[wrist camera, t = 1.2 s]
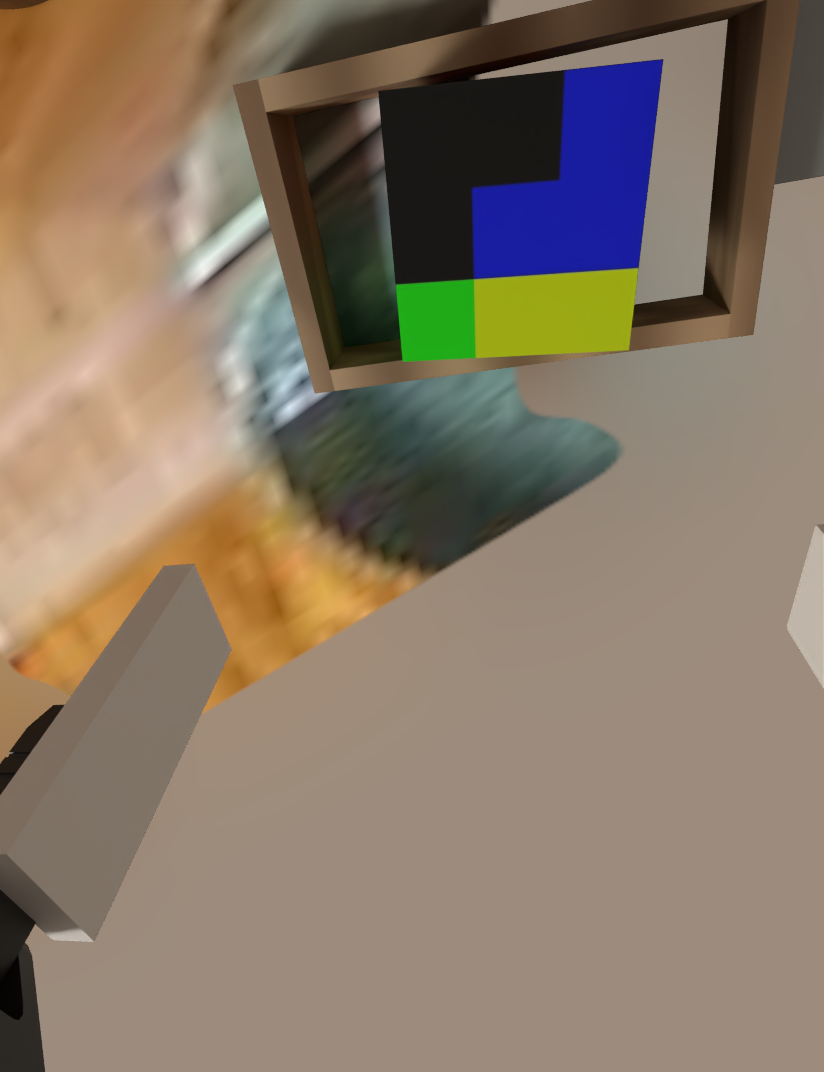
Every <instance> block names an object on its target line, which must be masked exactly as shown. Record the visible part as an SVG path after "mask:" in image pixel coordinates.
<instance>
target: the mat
mask: <svg viewBox="0 0 824 1072" xmlns="http://www.w3.org/2000/svg"><path fill="white" fill-rule="evenodd" d="M820 176H824V0H800V2H799V9H798V16H797V24H796V31H795V38H794V45H793V52H792V60H791V67H790V74H789V81H788V88H787V96H786V103H785V110H784V117H783V124H782V131H781V139H780V146H779V153H778V160H777V167H776V175H775V182H774V184H780V183H785V182H791V181H797V180H803V179H809V178H814V177H820Z"/></svg>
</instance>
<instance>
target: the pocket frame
mask: <svg viewBox="0 0 824 1072" xmlns="http://www.w3.org/2000/svg"><path fill="white" fill-rule="evenodd" d="M799 2H800V0H592V1H588V2H584V3H579V4H575V5H571V6H567V7H563V8H558V9H554V10H550V11H545V12H541V13H537V14H533V15H528V16H524V17H520V18H516V19H512V20H507V21H503V22H499V23H495V24H490V25H486V26H482V27H478V28H473V29H469V30H465V31H461V32H456V33H452V34H448V35H444V36H439V37H435V38H431V39H427V40H422V41H418V42H414V43H410V44H406V45H401V46H397V47H393V48H389V49H384V50H380V51H376V52H372V53H367V54H363V55H359V56H355V57H350V58H346V59H342V60H338V61H333V62H329V63H325V64H321V65H316V66H312V67H308V68H304V69H300V70H295V71H291V72H287V73H283V74H278V75H274V76H270V77H266V78H261V79H257V80H253V81H249V82H244V83H240V84H236V85H233V88H234V92H235V95H236V99H237V103H238V107H239V110H240V114H241V118H242V122H243V125H244V129H245V133H246V137H247V140H248V144H249V148H250V152H251V155H252V159H253V163H254V167H255V170H256V174H257V178H258V182H259V186H260V189H261V193H262V197H263V201H264V204H265V208H266V212H267V216H268V219H269V223H270V227H271V231H272V234H273V238H274V242H275V246H276V249H277V253H278V257H279V261H280V264H281V268H282V272H283V276H284V279H285V283H286V287H287V291H288V294H289V298H290V302H291V306H292V309H293V313H294V317H295V321H296V324H297V328H298V332H299V336H300V339H301V343H302V347H303V351H304V355H305V358H306V362H307V366H308V370H309V373H310V377H311V381H312V385H313V388H314V392H315V393H322V392H330V391H337V390H345V389H352V388H359V387H367V386H374V385H382V384H389V383H397V382H404V381H412V380H419V379H427V378H434V377H441V376H449V375H456V374H464V373H471V372H479V371H486V370H494V369H501V368H508V367H516V366H523V365H530V364H538V363H545V362H553V361H561V360H568V359H575V358H583V357H589V356H598V355H605V354H613V353H620V352H628V351H635V350H643V349H650V348H657V347H665V346H672V345H680V344H687V343H695V342H702V341H709V340H716V339H725V338H732V337H739V336H747V335H753V333H754V325H755V318H756V311H757V304H758V297H759V290H760V282H761V275H762V268H763V260H764V254H765V246H766V239H767V232H768V225H769V218H770V210H771V203H772V196H773V189H774V182H775V175H776V167H777V160H778V153H779V146H780V139H781V131H782V124H783V117H784V110H785V103H786V96H787V88H788V81H789V74H790V67H791V60H792V52H793V45H794V38H795V31H796V24H797V16H798V9H799ZM726 19H728V25H727V36H726V47H725V58H724V70H723V80H722V92H721V102H720V113H719V125H718V136H717V146H716V157H715V169H714V180H713V190H712V201H711V212H710V223H709V235H708V245H707V256H706V267H705V278H704V289H703V295H697V296H691V297H684V298H677V299H671V300H663V301H657V302H650V303H643V304H636V305H634V310H633V319H632V327H631V336H630V344H629V350H624V351H605V352H585V353H566V354H546V355H526V356H507V357H487V358H468V359H448V360H429V361H409V362H403V359H402V348H401V339H398V340H392V341H385V342H378V343H371V344H364V345H358V346H351V347H345V345H344V340H343V336H342V331H341V327H340V323H339V318H338V314H337V309H336V305H335V301H334V296H333V292H332V287H331V283H330V279H329V274H328V270H327V266H326V261H325V257H324V252H323V248H322V244H321V239H320V235H319V230H318V226H317V222H316V217H315V213H314V208H313V204H312V200H311V195H310V191H309V187H308V182H307V178H306V173H305V169H304V165H303V160H302V156H301V151H300V147H299V143H298V138H297V134H296V129H295V125H294V121H293V115H298V114H302V113H307V112H311V111H316V110H320V109H325V108H329V107H334V106H338V105H343V104H347V103H352V102H356V101H361V100H365V99H370V98H374V97H379V93H378V91H381V90H390V89H399V88H408V87H417V86H426V85H433V84H437V83H442V82H446V81H451V80H455V79H460V78H464V77H469V76H473V75H478V74H482V73H487V72H491V71H496V70H500V69H505V68H509V67H514V66H518V65H523V64H527V63H532V62H536V61H541V60H545V59H550V58H554V57H559V56H563V55H568V54H572V53H577V52H581V51H586V50H590V49H595V48H599V47H604V46H609V45H613V44H618V43H622V42H627V41H631V40H636V39H640V38H645V37H649V36H654V35H658V34H663V33H667V32H672V31H676V30H681V29H685V28H690V27H694V26H699V25H703V24H707V23H712V22H717V21H721V20H726Z"/></svg>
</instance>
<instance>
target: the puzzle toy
mask: <svg viewBox="0 0 824 1072" xmlns="http://www.w3.org/2000/svg"><path fill="white" fill-rule="evenodd" d="M662 65H663V59H661V60H652V61H642V62H633V63H624V64H616V65H607V66H597V67H588V68H579V69H571V70H561V71H552V72H543V73H534V74H525V75H516V76H507V77H499V78H489V79H480V80H471V81H462V82H453V83H444V84H435V85H426V86H417V87H408V88H399V89H390V90H381V91H378V93H379V105H380V116H381V127H382V138H383V149H384V160H385V171H386V182H387V193H388V204H389V215H390V226H391V237H392V249H393V260H394V271H395V282H396V293H397V304H398V315H399V326H400V337H401V348H402V359H403V362H409V361H429V360H448V359H468V358H487V357H507V356H526V355H546V354H566V353H585V352H605V351H624V350H629V344H630V336H631V327H632V319H633V310H634V302H635V293H636V285H637V276H638V268H639V260H640V251H641V243H642V234H643V226H644V217H645V208H646V201H647V192H648V184H649V175H650V167H651V158H652V149H653V141H654V132H655V123H656V116H657V108H658V99H659V91H660V82H661V74H662Z"/></svg>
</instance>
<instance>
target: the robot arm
mask: <svg viewBox="0 0 824 1072" xmlns="http://www.w3.org/2000/svg"><path fill="white" fill-rule="evenodd" d="M45 1H48V0H0V9H19V8H26V7H31V6H35V5H38V4H40V3H43V2H45ZM787 630H788V631H789V633H790V635H791V636H792V638H793V639H794V641H795V643H796V644H797V646H798V648H799V649H800V651H801V652H802V654H803V656H804V657H805V659H806V661H807V662H808V664H809V665H810V667H811V669H812V670H813V672H814V673H815V675H816V677H817V678H818V680H819V681H820V683H821V685H822V687H823V688H824V524H821V525H816V526H815V530H814V533H813V537H812V540H811V544H810V548H809V551H808V555H807V558H806V562H805V565H804V569H803V572H802V576H801V579H800V582H799V586H798V589H797V593H796V597H795V600H794V603H793V607H792V611H791V614H790V618H789V621H788V625H787ZM231 650H232V649H231V647H230V645H229V642H228V640H227V638H226V635H225V633H224V631H223V628H222V626H221V624H220V622H219V619H218V617H217V615H216V612H215V610H214V608H213V606H212V603H211V601H210V599H209V596H208V594H207V592H206V589H205V587H204V585H203V583H202V580H201V578H200V576H199V573H198V571H197V569H196V567H195V564H186V565H171V566H163V568H162V569H161V571H160V572H159V573H158V575H157V576H156V578H155V579H154V580H153V582H152V583H151V585H150V586H149V587H148V589H147V590H146V592H145V593H144V594H143V596H142V597H141V599H140V600H139V601H138V603H137V604H136V606H135V607H134V608H133V610H132V611H131V613H130V614H129V615H128V617H127V618H126V620H125V621H124V622H123V624H122V625H121V627H120V628H119V630H118V631H117V632H116V634H115V635H114V637H113V638H112V639H111V641H110V642H109V644H108V645H107V646H106V648H105V649H104V651H103V652H102V653H101V655H100V656H99V658H98V659H97V660H96V662H95V663H94V665H93V666H92V667H91V669H90V670H89V672H88V673H87V674H86V676H85V677H84V679H83V680H82V681H81V683H80V684H79V686H78V687H77V688H76V690H75V691H74V693H73V694H72V695H71V697H70V698H69V700H68V701H67V702H66V704H65V705H53V706H52V707H51V708H50V709H49V710H47V711H46V712H45V713H44V714H43V715H41V716H40V717H39V718H38V719H37V720H36V721H34V722H33V723H32V724H31V725H30V726H29V727H28V728H27V729H26V730H25V732H24V733H23V734H22V736H21V737H20V738H19V740H18V741H17V742H16V744H15V745H14V746H13V748H12V749H11V750H10V752H9V757H6V758H4V760H3V761H2V762H1V764H0V1072H45V1067H44V1058H43V1049H42V1040H41V1031H40V1022H39V1013H38V1004H37V995H36V986H35V978H34V969H33V961H32V955H31V953H30V950H29V947H28V945H27V944H26V943H25V941H26V939H27V938H28V936H29V934H30V932H31V930H32V929H33V927H34V925H35V924H36V925H37V926H38V927H39V928H40V929H41V930H43V931H44V932H45V933H46V934H47V935H48V936H49V937H50V938H51V939H52V940H65V941H86V942H88V941H89V942H94V941H95V939H96V937H97V935H98V933H99V930H100V928H101V926H102V924H103V922H104V920H105V918H106V915H107V913H108V911H109V909H110V907H111V905H112V903H113V901H114V899H115V897H116V894H117V892H118V890H119V888H120V886H121V884H122V881H123V879H124V877H125V875H126V873H127V871H128V869H129V867H130V865H131V862H132V860H133V858H134V856H135V854H136V852H137V850H138V848H139V845H140V843H141V841H142V839H143V837H144V835H145V833H146V831H147V828H148V826H149V824H150V822H151V820H152V818H153V816H154V813H155V811H156V809H157V807H158V805H159V803H160V801H161V799H162V796H163V794H164V792H165V790H166V788H167V786H168V784H169V782H170V779H171V777H172V775H173V773H174V771H175V769H176V767H177V765H178V762H179V760H180V758H181V756H182V754H183V752H184V750H185V748H186V745H187V743H188V741H189V739H190V737H191V735H192V733H193V730H194V728H195V726H196V724H197V722H198V720H199V718H200V716H201V713H202V711H203V709H204V707H205V705H206V703H207V701H208V699H209V696H210V694H211V692H212V690H213V688H214V686H215V684H216V682H217V679H218V677H219V675H220V673H221V671H222V669H223V667H224V665H225V662H226V660H227V658H228V656H229V654H230V652H231Z"/></svg>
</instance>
